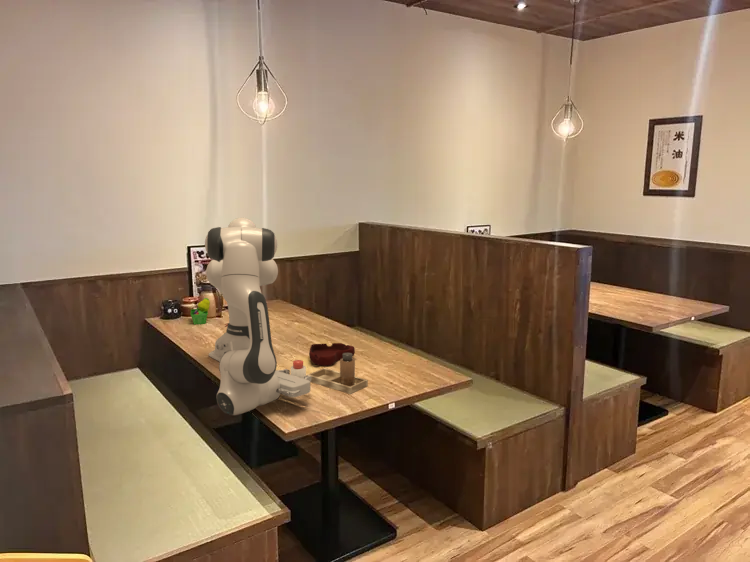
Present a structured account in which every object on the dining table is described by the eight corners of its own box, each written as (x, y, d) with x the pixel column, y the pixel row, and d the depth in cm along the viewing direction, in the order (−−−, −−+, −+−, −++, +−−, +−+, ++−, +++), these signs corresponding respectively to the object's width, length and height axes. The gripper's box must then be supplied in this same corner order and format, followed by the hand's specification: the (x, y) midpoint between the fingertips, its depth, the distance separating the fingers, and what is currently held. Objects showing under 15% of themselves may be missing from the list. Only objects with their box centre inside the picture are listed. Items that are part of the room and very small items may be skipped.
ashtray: (327, 350, 231) (327, 338, 230) (358, 359, 220) (358, 346, 219) (294, 361, 217) (294, 349, 216) (326, 371, 207) (325, 358, 206)
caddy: (306, 383, 195) (306, 374, 194) (324, 376, 202) (324, 367, 201) (350, 396, 183) (350, 387, 183) (367, 388, 190) (367, 379, 190)
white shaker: (288, 394, 185) (287, 361, 183) (298, 390, 189) (298, 358, 186) (298, 398, 182) (298, 365, 180) (309, 393, 186) (308, 361, 184)
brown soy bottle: (337, 386, 189) (337, 354, 187) (346, 382, 193) (346, 351, 191) (348, 390, 186) (348, 357, 184) (357, 385, 190) (357, 353, 188)
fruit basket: (191, 319, 275) (189, 296, 273) (210, 318, 278) (209, 295, 276) (191, 325, 265) (189, 301, 263) (211, 324, 267) (210, 300, 265)
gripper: (291, 385, 167) (323, 372, 178) (243, 370, 179) (276, 359, 190) (291, 406, 168) (323, 391, 179) (244, 389, 180) (276, 377, 191)
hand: (298, 374), depth 184 cm, fingers open, 8 cm apart
